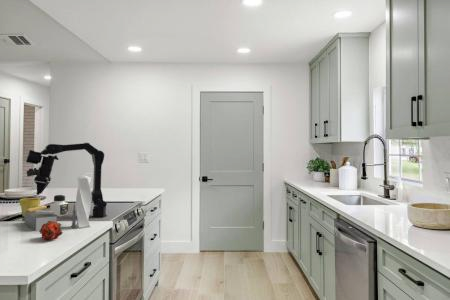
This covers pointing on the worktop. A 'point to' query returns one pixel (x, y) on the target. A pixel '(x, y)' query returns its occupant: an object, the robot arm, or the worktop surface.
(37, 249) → the worktop surface
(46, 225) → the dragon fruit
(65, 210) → the medicine bottle
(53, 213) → the rocker outlet
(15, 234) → the worktop surface
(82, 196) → the skyscraper
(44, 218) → the grey switch box
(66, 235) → the worktop surface
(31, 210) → the rocker outlet
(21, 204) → the plant pot
